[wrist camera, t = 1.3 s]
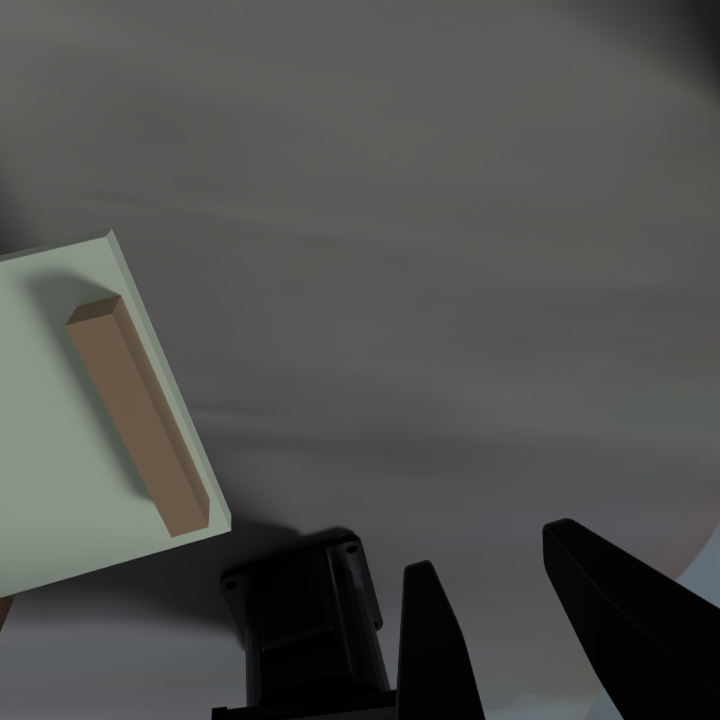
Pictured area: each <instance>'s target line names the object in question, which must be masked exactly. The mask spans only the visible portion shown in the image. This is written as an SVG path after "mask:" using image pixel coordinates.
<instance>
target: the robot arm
mask: <svg viewBox="0 0 720 720" xmlns="http://www.w3.org/2000/svg"><path fill="white" fill-rule="evenodd" d="M542 534H543V559H544V565H545V569H546V572H547V574H548V577H549V579H550V581H551V583H552V585H553V587H554V589H555V591H556V593H557V595H558V597H559V599H560V601H561V604H562V606H563V608H564V610H565V612H566V614H567V616H568V618H569V620H570V622H571V624H572V626H573V628H574V630H575V632H576V635H577V637H578V639H579V641H580V643H581V645H582V647H583V649H584V651H585V653H586V655H587V657H588V659H589V661H590V663H591V665H592V667H593V669H594V671H595V673H596V675H597V676H598V678H599V680H600V681H601V683H602V685H603V687H604V688H605V690H606V692H607V693H608V695H609V696H610V698H611V700H612V701H613V703H614V704H615V706H616V708H617V709H618V711H619V713H620V714H621V715H622V718H623V719H624V720H720V609H719V608H718V607H716V606H715V605H713V604H711V603H710V602H708V601H706V600H705V599H703V598H702V597H700V596H698V595H696V594H695V593H693V592H691V591H690V590H688V589H687V588H685V587H683V586H681V585H680V584H678V583H677V582H675V581H673V580H672V579H670V578H668V577H667V576H665V575H664V574H662V573H660V572H659V571H657V570H655V569H654V568H652V567H650V566H649V565H647V564H645V563H644V562H642V561H640V560H639V559H637V558H635V557H634V556H632V555H630V554H629V553H627V552H626V551H624V550H622V549H621V548H619V547H617V546H616V545H614V544H612V543H611V542H609V541H607V540H606V539H604V538H602V537H601V536H599V535H597V534H596V533H594V532H592V531H591V530H589V529H587V528H586V527H584V526H583V525H581V524H579V523H578V522H576V521H574V520H572V519H569V518H564V519H560V520H557V521H553V522H550V523H547V524H545V525H544V527H543V531H542ZM351 545H354V546H352V547H349V546H351ZM229 581H234V582H229ZM220 589H221V591H222V593H223V595H224V597H225V600H226V602H227V604H228V606H229V608H230V610H231V612H232V614H233V616H234V619H235V621H236V623H237V625H238V627H239V629H240V631H241V633H242V636H243V638H244V640H245V647H246V694H247V707H243V708H234V709H227V707H219V708H212V720H485V716H484V712H483V708H482V704H481V700H480V697H479V693H478V689H477V685H476V681H475V677H474V673H473V670H472V666H471V662H470V658H469V654H468V650H467V647H466V643H465V640H464V637H463V633H462V631H461V628H460V626H459V623H458V621H457V619H456V616H455V614H454V612H453V610H452V607H451V605H450V603H449V601H448V598H447V596H446V594H445V591H444V589H443V587H442V585H441V582H440V580H439V578H438V576H437V573H436V571H435V569H434V567H433V565H432V563H431V562H430V561H428V560H424V561H421V562H418V563H414V564H411V565H408V566H406V567H405V569H404V578H403V594H402V611H401V627H400V643H399V659H398V676H397V689H395V690H391V689H390V685H389V681H388V677H387V673H386V669H385V665H384V661H383V657H382V653H381V649H380V645H379V641H378V637H377V633H376V631H378V630H380V629H381V628H382V626H383V621H382V617H381V613H380V609H379V606H378V602H377V598H376V595H375V591H374V587H373V583H372V580H371V576H370V572H369V568H368V565H367V561H366V557H365V553H364V550H363V546H362V542H361V539H360V538H359V537H358V536H357V535H347V536H343V537H340V538H337V539H333V540H330V541H327V542H323V543H320V544H316V545H313V546H310V547H306V548H303V549H299V550H296V551H293V552H289V553H286V554H283V555H279V556H276V557H272V558H269V559H266V560H262V561H259V562H255V563H252V564H249V565H245V566H242V567H239V568H235V569H232V570H228V571H226V572H224V573H223V574H222V575H221V577H220Z"/></svg>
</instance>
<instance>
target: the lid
mask: <svg viewBox="0 0 720 720" xmlns="http://www.w3.org/2000/svg"><path fill="white" fill-rule="evenodd" d="M229 531H231V513H230V511H229V508H228V506H227V503H226V501H225V499H224V496H223V494H222V491H221V489H220V487H219V484H218V482H217V479H216V477H215V475H214V472H213V470H212V468H211V465H210V463H209V460H208V458H207V456H206V453H205V451H204V448H203V446H202V444H201V441H200V439H199V436H198V434H197V432H196V429H195V427H194V424H193V422H192V420H191V417H190V415H189V412H188V410H187V408H186V405H185V403H184V400H183V398H182V396H181V393H180V391H179V388H178V386H177V384H176V381H175V379H174V376H173V374H172V372H171V369H170V367H169V364H168V362H167V360H166V357H165V355H164V352H163V350H162V348H161V345H160V343H159V340H158V338H157V336H156V333H155V331H154V328H153V326H152V324H151V321H150V319H149V316H148V314H147V312H146V309H145V307H144V304H143V302H142V300H141V297H140V295H139V292H138V290H137V288H136V285H135V283H134V280H133V278H132V276H131V273H130V271H129V268H128V266H127V264H126V261H125V259H124V256H123V254H122V252H121V249H120V247H119V244H118V242H117V240H116V237H115V235H114V232H113V230H112V229H108V230H104V231H100V232H96V233H92V234H88V235H83V236H79V237H75V238H71V239H67V240H62V241H58V242H54V243H50V244H46V245H42V246H37V247H33V248H29V249H25V250H21V251H17V252H12V253H8V254H4V255H0V598H1V597H5V596H8V595H12V594H15V593H19V592H22V591H26V590H29V589H33V588H36V587H39V586H43V585H46V584H50V583H53V582H57V581H60V580H64V579H67V578H71V577H74V576H77V575H81V574H84V573H88V572H91V571H95V570H98V569H102V568H105V567H108V566H112V565H115V564H119V563H122V562H126V561H129V560H133V559H136V558H140V557H143V556H146V555H150V554H153V553H157V552H160V551H164V550H167V549H171V548H174V547H178V546H181V545H184V544H188V543H191V542H195V541H198V540H202V539H205V538H209V537H212V536H216V535H219V534H222V533H226V532H229Z"/></svg>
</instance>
